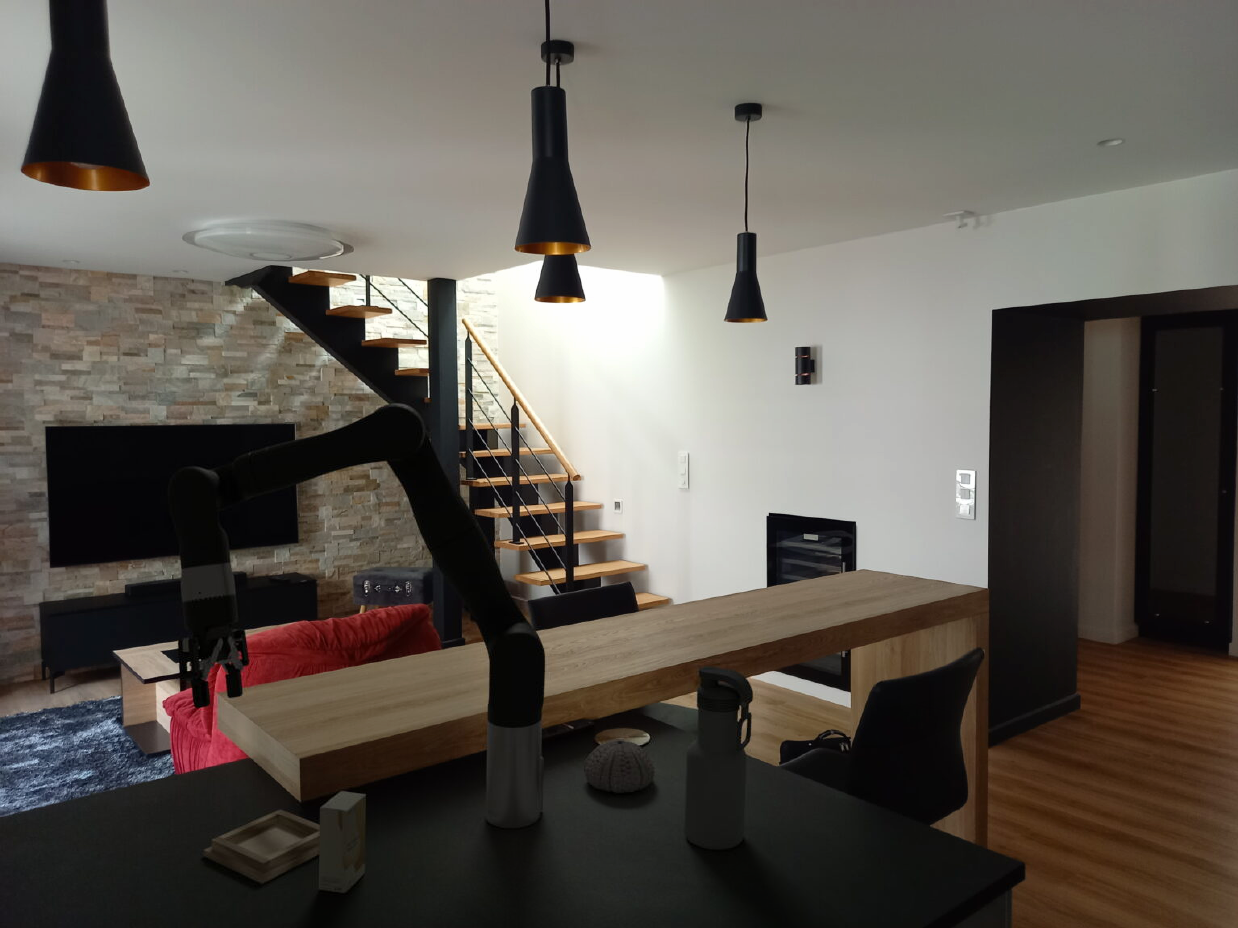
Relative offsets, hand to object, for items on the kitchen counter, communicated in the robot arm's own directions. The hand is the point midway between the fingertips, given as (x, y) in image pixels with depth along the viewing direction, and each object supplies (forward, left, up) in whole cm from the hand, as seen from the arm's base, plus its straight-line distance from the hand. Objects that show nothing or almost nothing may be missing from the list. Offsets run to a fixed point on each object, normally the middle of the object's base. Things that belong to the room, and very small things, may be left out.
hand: (219, 701), depth 134 cm
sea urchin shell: (-58, +37, -25) cm, 73 cm away
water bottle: (-49, +61, -24) cm, 82 cm away
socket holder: (-6, +5, -24) cm, 25 cm away
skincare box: (-6, +21, -24) cm, 33 cm away
